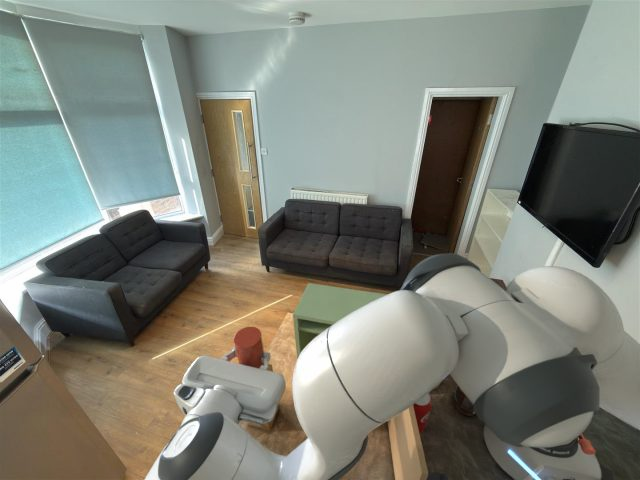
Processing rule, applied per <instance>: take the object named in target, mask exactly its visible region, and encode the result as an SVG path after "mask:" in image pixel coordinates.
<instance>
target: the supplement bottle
mask: <svg viewBox="0 0 640 480" xmlns="http://www.w3.org/2000/svg"><path fill="white" fill-rule="evenodd" d="M452 402H453V406H454V407H455V408H456V410H458V411H459V412H460V413H461V414H463V415H465V416H475V415H477V414H476V413H475V412H474V410H473V404H472V402H471V401H470V400H469V399H468V397H467V396H466V395H465V394H464V392H463V391H462V390H461V388H460V387H459V386H458V384H457V386H456V388H455V391H454V394H453V397H452Z"/></svg>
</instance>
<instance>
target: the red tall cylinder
mask: <svg viewBox="0 0 640 480" xmlns="http://www.w3.org/2000/svg"><path fill="white" fill-rule="evenodd" d="M233 344H234V346H235V349H236V353H237V357H236V358H237V361H238V364H242V365H246V366H250V367H255V368H259V369H260V367H261V366H262V365H264V363H262V362H261V356H262V355H263V352H265V348H264V347H265V346H264V342H263V336H262V332H261V330H260V329H259V328H258V327H256V326H246V327H243V328H241V329H239V330H238V331H237V332H236V333H235V334H234V336H233Z"/></svg>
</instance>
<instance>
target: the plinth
mask: <svg viewBox="0 0 640 480" xmlns="http://www.w3.org/2000/svg"><path fill="white" fill-rule="evenodd" d="M268 369H269V371H272V372H274V369H273V364H272V363H268ZM279 409H280V404H279V403H278V405H277V410H276V413H275V416H274V418H273V420H272V421H271V422H269V423H267V424H263V425H262V426H258V425H255V424H254V423H249V422H247V423H248V426H252V427H255V428H258V429H262V430H266V431H269V432H271V431H272V428H273V425H274V422H275V419H276V417H277V415H278V412H279ZM264 421H265V420H264Z"/></svg>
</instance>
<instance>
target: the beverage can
mask: <svg viewBox="0 0 640 480" xmlns="http://www.w3.org/2000/svg"><path fill="white" fill-rule="evenodd" d="M432 406H433V399H432V397H431V394H430V392H429V393H428V394H427V395H425V396H424V397H423V398H421V399H420V400H419V401H417V402H416V403H415V404H413V407H414V411H415V416H416V420H417V425H418V429H419V434H422V433H423V432H424V431H425V429H426V426H427V423H428V420H429V416H430V413H431V410H432V408H433V407H432Z"/></svg>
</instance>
